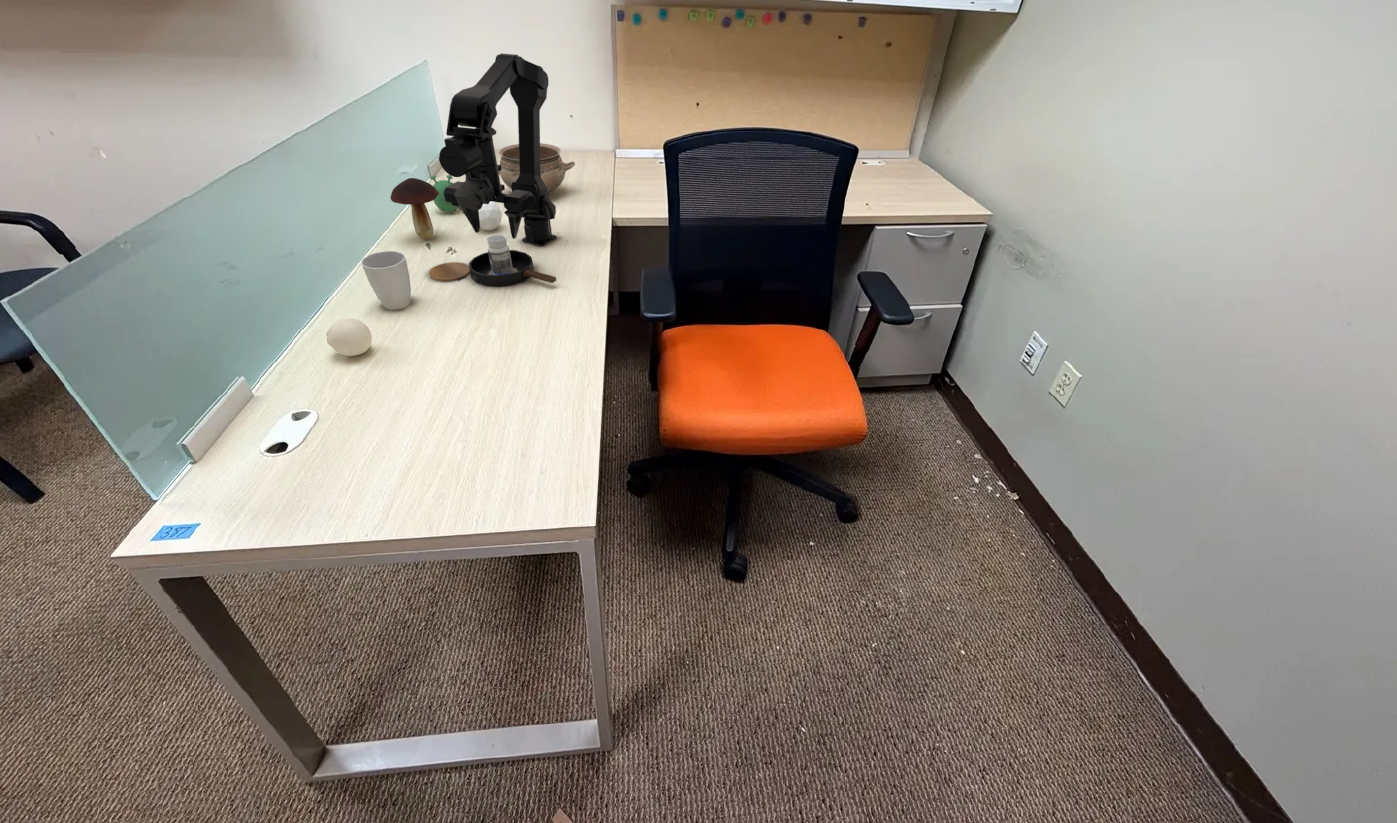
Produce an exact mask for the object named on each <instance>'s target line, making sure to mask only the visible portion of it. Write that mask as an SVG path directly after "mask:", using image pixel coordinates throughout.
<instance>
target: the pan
mask: <svg viewBox="0 0 1397 823" xmlns="http://www.w3.org/2000/svg"><path fill="white" fill-rule="evenodd" d="M509 250H510V256H511V261H512V267H513V269H516V270H517V271H513V273H511V274H505V275H493V274H488V273H489V272H490V271H492V269H491V265H490V259H489V255H488V251H486V252H482V253H480V254H479V255H476V256H475V257H473V258H472V259H471V260H470V261H469V262H468V266H469V270H470V274H469V275H470V279H472V281H473V282H474V283H476V284H478V285H481V286H484V287H496V288H501V287H510V286H515V285H517V284H520V283H523V282H525V281H527V280H528V279H531V278H532V279H536V280H538V281H539V280H540V281H543V282H546V283H550V284H554V283H555V282H556V281H557V277H556V276H554V275H550V274H547V273H544V272H540V271H537V270H535V267H534V262H533V257H532V256H531V255H530V254H528V253H526V252H523V251H520V250H515V249H509Z"/></svg>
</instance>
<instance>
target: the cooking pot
mask: <svg viewBox="0 0 1397 823" xmlns="http://www.w3.org/2000/svg"><path fill="white" fill-rule="evenodd" d="M498 154H499V156H500V160H499V165H501V168H502V170H501V171H499V177H500V178H501V180H502V182H503V183H504V185H505V186H506V187H508V188H509V189H511V190H512V188H511V185H512V182H516V180H517V178H518V176H519V143H516V144H515V143H514V144H511V145H507V146H504V147H502V148H501V149H499V150H498ZM560 154H561V149H560V147H558V146H557V145H553V144H548V143H541V142H540V175H541V178H542V180H543V182H544V183H545V185H546V187H547V191H548V194H550V193H551V192H553V191H554V190H556V189H557V188H558V187H559V186H561V184H562V183H563V181H564V180H565V176H566V172H568V171H569V170H571V169H572V168H574V167H575V165H576V163H575V161H569V162H564V161H563V158H562V157H561V155H560Z"/></svg>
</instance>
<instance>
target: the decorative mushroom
mask: <svg viewBox="0 0 1397 823" xmlns="http://www.w3.org/2000/svg"><path fill="white" fill-rule="evenodd" d="M438 195H439V192H438V191H437V190H436V188H435V187H434V185H433V184H431V183H429V182H427V181H425V180H423V179H420V178H416V177H409V178H406V179H404V180H402V181H401V182H400V183H398V184H397V185H395V186H394V188H393V189H392V191H391V193H390V197H389V198H390V201H391V202H392V203H395V204H400V205H408V206H410V207H411V217H412V224H413V228H414V230H415V234H416V235H417V237H418V238H420V239H422V240H429V239H431V238H432V237H433V236H434V226H433V222H432V218H431V216H430V213H429V211H428V208H427V206H426V203H427V204H428V203H430V202H434V199H435V198H436V197H437V196H438Z"/></svg>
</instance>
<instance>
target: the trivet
mask: <svg viewBox="0 0 1397 823" xmlns="http://www.w3.org/2000/svg"><path fill="white" fill-rule="evenodd" d="M428 275H429V277H430V279H432V280H434V281H436V282H437V281H438V282H455V281H459V280H461V279H465V278H466V277H468V276H469V275H471V274H470V270H469V264H466V263H464V262H455V261H453V262H446V263H441V264H438V265H435V266H433V267H432V268H431V269H430V270H429V271H428Z"/></svg>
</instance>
